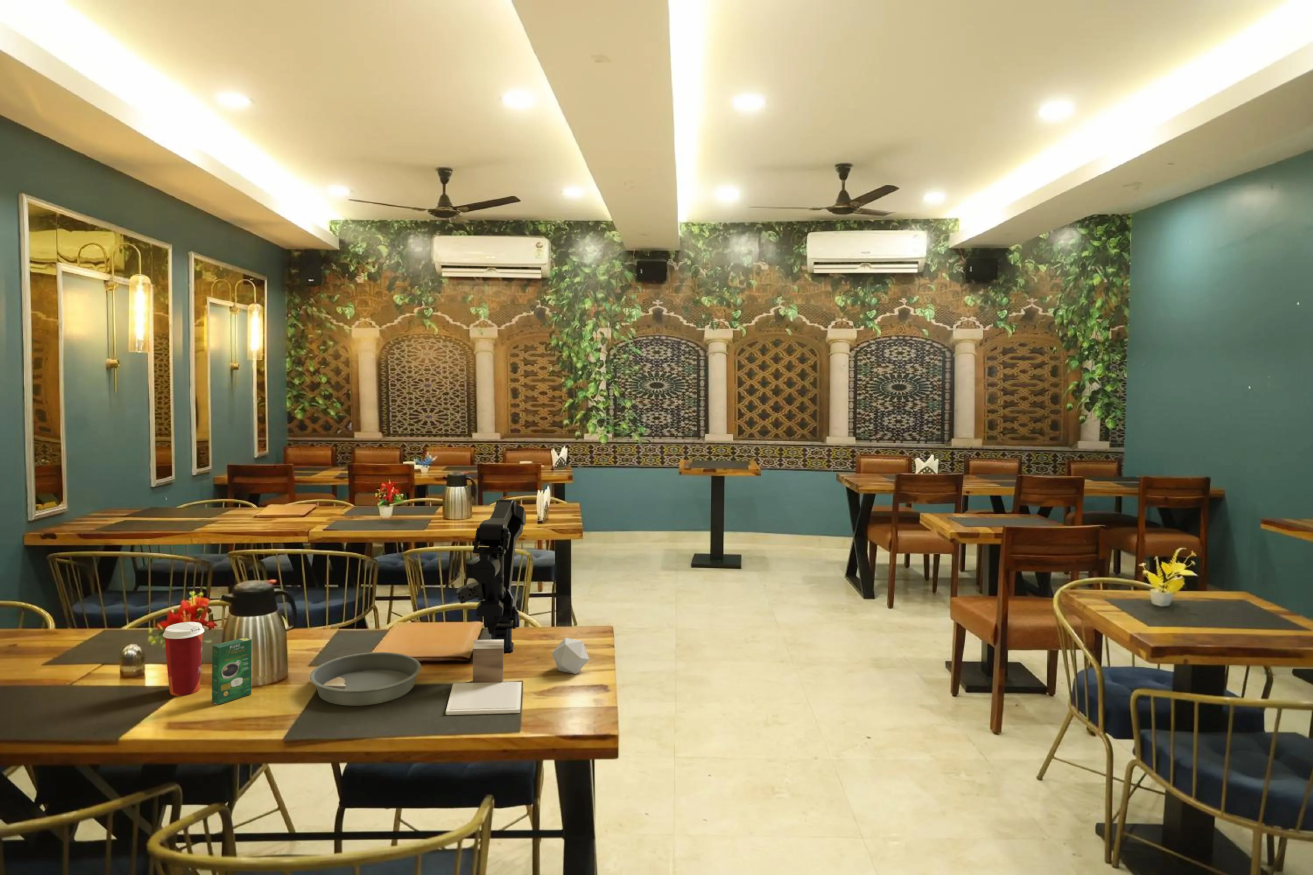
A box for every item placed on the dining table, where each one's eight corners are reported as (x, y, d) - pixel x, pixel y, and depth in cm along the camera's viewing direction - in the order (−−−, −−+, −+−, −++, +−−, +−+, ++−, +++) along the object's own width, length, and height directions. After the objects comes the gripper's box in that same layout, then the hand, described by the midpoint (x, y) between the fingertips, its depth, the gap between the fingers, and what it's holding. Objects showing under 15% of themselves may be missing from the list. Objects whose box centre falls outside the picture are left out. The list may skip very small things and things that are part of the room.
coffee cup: (213, 687, 193) (212, 623, 192) (183, 700, 186) (181, 634, 184) (186, 681, 196) (185, 619, 195) (154, 694, 188) (153, 629, 187)
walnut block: (473, 679, 203) (474, 639, 202) (503, 679, 204) (503, 639, 203) (472, 686, 199) (473, 645, 198) (502, 685, 200) (503, 644, 199)
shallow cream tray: (453, 686, 198) (453, 682, 198) (521, 685, 201) (521, 681, 200) (445, 714, 182) (445, 710, 182) (519, 712, 185) (520, 708, 185)
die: (594, 671, 213) (582, 635, 217) (589, 665, 205) (577, 628, 209) (563, 682, 212) (553, 646, 216) (557, 677, 205) (546, 640, 209)
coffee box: (245, 691, 192) (245, 635, 191) (253, 694, 190) (252, 637, 189) (211, 702, 185) (210, 644, 184) (218, 705, 183) (217, 647, 182)
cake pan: (371, 662, 213) (371, 644, 213) (442, 682, 201) (443, 664, 201) (286, 693, 192) (286, 674, 192) (360, 718, 180) (360, 698, 179)
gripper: (462, 563, 217) (461, 622, 219) (455, 582, 199) (454, 646, 200) (505, 563, 219) (504, 621, 220) (502, 582, 200) (501, 645, 202)
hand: (491, 633), depth 211 cm, fingers closed
